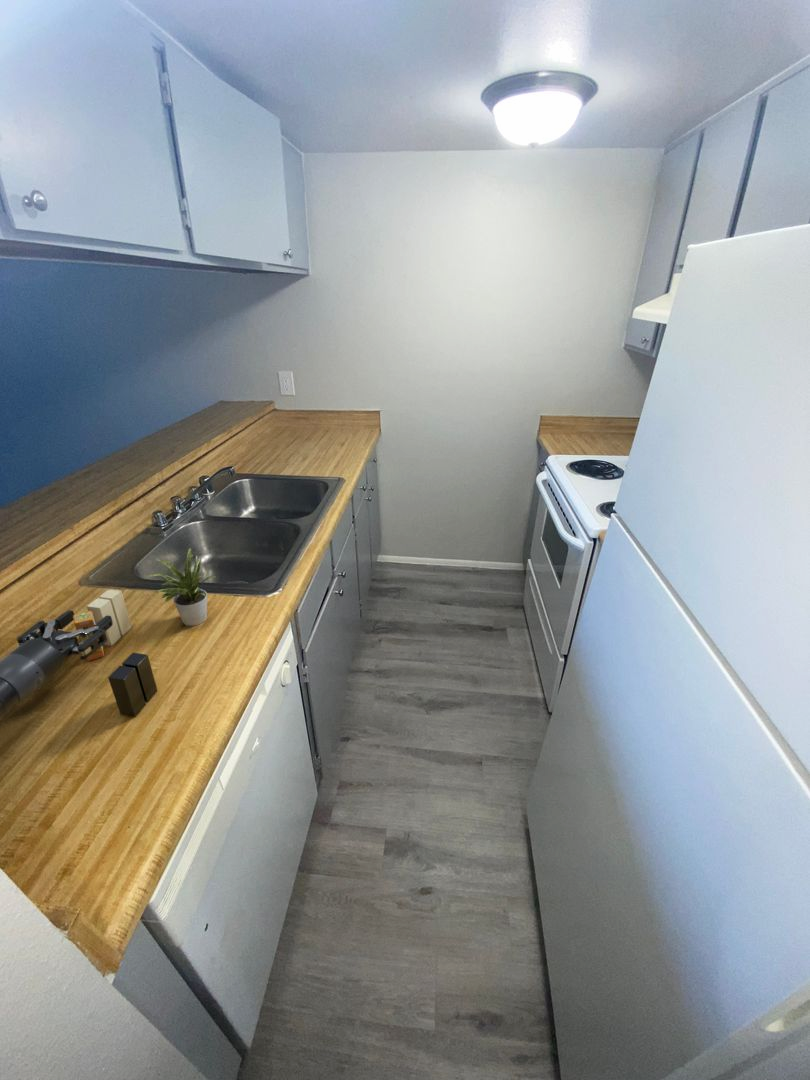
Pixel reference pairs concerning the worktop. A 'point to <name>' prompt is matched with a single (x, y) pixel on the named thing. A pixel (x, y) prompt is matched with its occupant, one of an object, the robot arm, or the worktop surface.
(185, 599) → the house plant
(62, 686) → the worktop surface
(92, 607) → the cream boxes
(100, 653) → the supplement box
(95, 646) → the robot arm
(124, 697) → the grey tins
